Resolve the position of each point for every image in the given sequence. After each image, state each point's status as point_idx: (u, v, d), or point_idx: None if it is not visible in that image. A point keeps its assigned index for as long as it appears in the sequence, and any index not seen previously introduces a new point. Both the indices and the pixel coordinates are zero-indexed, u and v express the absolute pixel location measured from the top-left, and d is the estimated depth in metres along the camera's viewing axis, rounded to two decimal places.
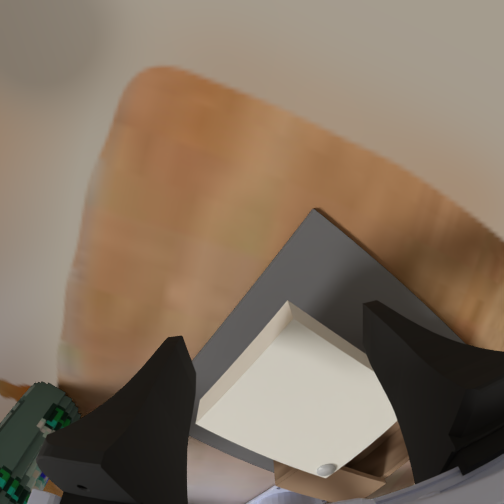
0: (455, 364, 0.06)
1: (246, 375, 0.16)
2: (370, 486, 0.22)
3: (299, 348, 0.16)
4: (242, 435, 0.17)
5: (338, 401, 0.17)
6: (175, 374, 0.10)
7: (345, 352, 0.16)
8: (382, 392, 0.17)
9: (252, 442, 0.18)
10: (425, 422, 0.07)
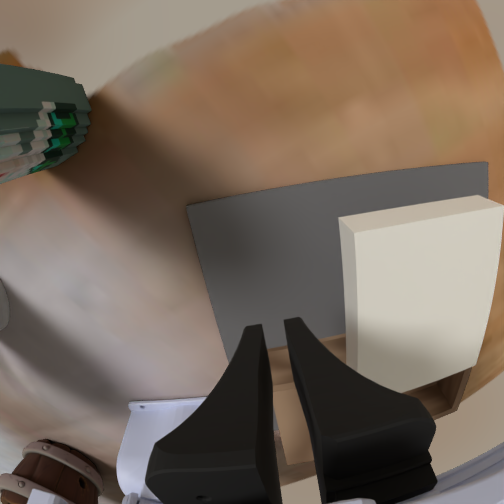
0: (336, 401, 0.06)
1: (447, 219, 0.13)
2: None
3: (488, 233, 0.13)
4: (375, 287, 0.14)
5: (459, 312, 0.15)
6: (264, 362, 0.10)
7: (495, 268, 0.14)
8: (476, 332, 0.16)
9: (371, 304, 0.14)
10: (316, 453, 0.07)
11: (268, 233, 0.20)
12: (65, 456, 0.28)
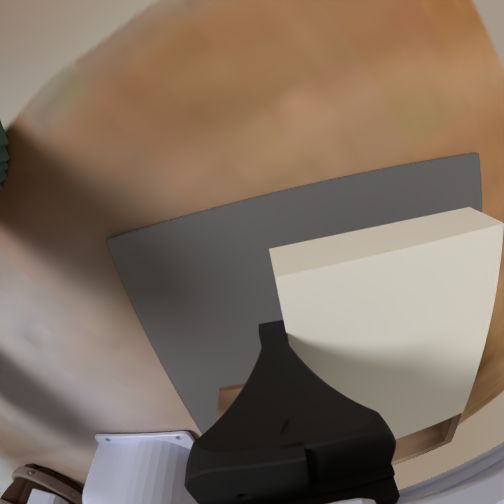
0: (294, 410, 0.06)
1: (420, 249, 0.10)
2: None
3: (481, 261, 0.10)
4: (314, 343, 0.11)
5: (439, 362, 0.12)
6: None
7: None
8: (463, 379, 0.12)
9: (311, 362, 0.11)
10: None
11: (198, 264, 0.17)
12: (49, 481, 0.25)
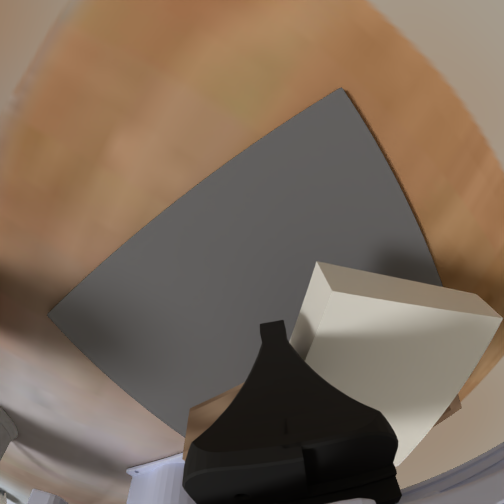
0: (296, 409, 0.06)
1: (443, 313, 0.11)
2: None
3: (475, 342, 0.11)
4: (328, 361, 0.11)
5: (406, 414, 0.13)
6: None
7: None
8: (414, 436, 0.14)
9: None
10: None
11: (113, 312, 0.18)
12: None
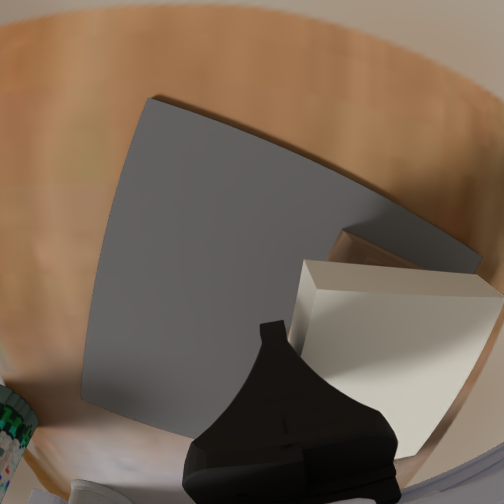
0: (296, 409, 0.06)
1: (439, 299, 0.10)
2: None
3: (478, 324, 0.11)
4: (324, 359, 0.11)
5: (415, 403, 0.12)
6: None
7: None
8: (427, 425, 0.13)
9: None
10: None
11: (117, 375, 0.20)
12: None
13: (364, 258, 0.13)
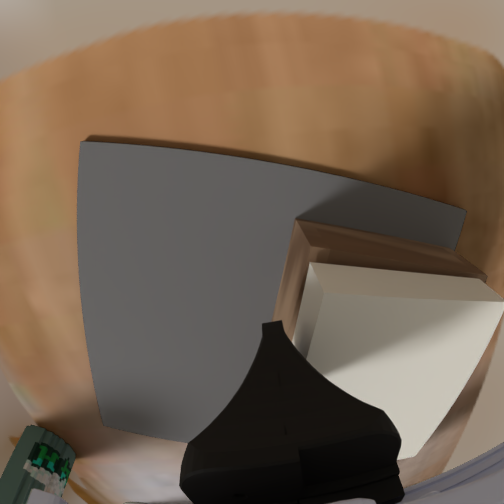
0: (299, 408, 0.06)
1: (442, 304, 0.10)
2: None
3: (480, 328, 0.11)
4: (329, 361, 0.11)
5: (416, 405, 0.12)
6: None
7: None
8: (427, 427, 0.13)
9: None
10: None
11: (127, 398, 0.21)
12: None
13: (308, 247, 0.13)
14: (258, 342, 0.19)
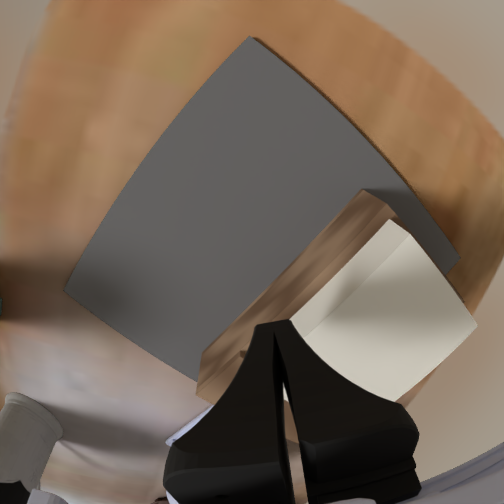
0: (318, 405, 0.06)
1: (452, 293, 0.15)
2: None
3: (457, 332, 0.16)
4: (379, 288, 0.14)
5: (391, 372, 0.17)
6: (276, 361, 0.10)
7: None
8: None
9: (363, 298, 0.15)
10: (301, 456, 0.07)
11: (115, 269, 0.21)
12: None
13: (382, 204, 0.16)
14: (274, 270, 0.21)
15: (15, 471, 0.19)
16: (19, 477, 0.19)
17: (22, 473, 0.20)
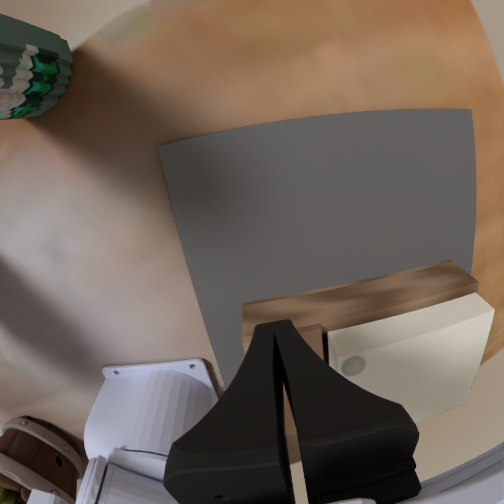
0: (318, 405, 0.06)
1: (477, 366, 0.18)
2: None
3: (456, 398, 0.19)
4: (460, 333, 0.16)
5: (409, 404, 0.18)
6: (276, 361, 0.10)
7: None
8: None
9: (449, 334, 0.16)
10: (301, 456, 0.07)
11: (240, 171, 0.19)
12: (43, 432, 0.27)
13: (474, 280, 0.18)
14: (362, 274, 0.22)
15: None
16: None
17: None
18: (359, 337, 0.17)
